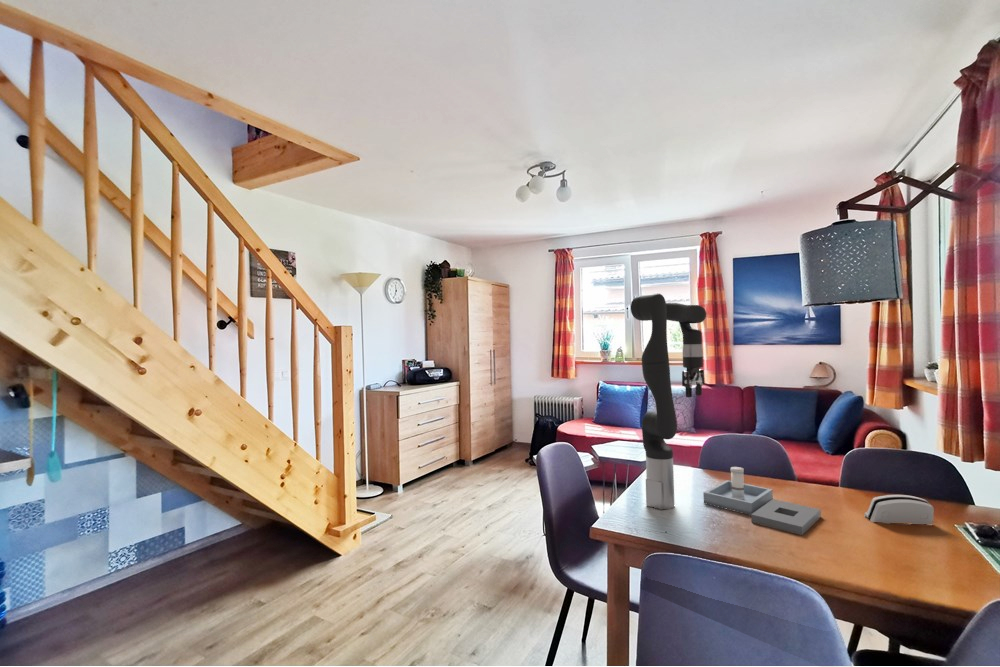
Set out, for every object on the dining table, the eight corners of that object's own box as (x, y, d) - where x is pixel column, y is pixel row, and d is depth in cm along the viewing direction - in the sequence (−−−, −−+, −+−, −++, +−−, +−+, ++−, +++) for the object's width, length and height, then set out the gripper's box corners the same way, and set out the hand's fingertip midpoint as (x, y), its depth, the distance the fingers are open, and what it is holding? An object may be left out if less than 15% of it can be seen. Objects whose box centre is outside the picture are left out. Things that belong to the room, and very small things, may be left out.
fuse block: (802, 535, 136) (801, 526, 136) (751, 522, 146) (751, 514, 146) (820, 517, 149) (820, 509, 149) (773, 506, 159) (772, 499, 159)
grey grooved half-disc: (922, 519, 145) (928, 493, 142) (932, 530, 141) (939, 503, 138) (862, 516, 149) (867, 490, 145) (871, 526, 144) (876, 500, 141)
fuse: (741, 501, 161) (740, 470, 161) (729, 499, 164) (728, 468, 165) (746, 499, 164) (745, 468, 164) (734, 496, 167) (733, 466, 167)
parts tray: (751, 515, 151) (751, 503, 152) (703, 503, 163) (703, 492, 164) (772, 500, 165) (772, 489, 165) (727, 490, 177) (726, 480, 177)
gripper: (693, 356, 175) (695, 398, 175) (710, 355, 184) (711, 395, 184) (675, 356, 181) (676, 397, 180) (691, 355, 190) (693, 394, 190)
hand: (694, 396), depth 182 cm, fingers open, 8 cm apart
